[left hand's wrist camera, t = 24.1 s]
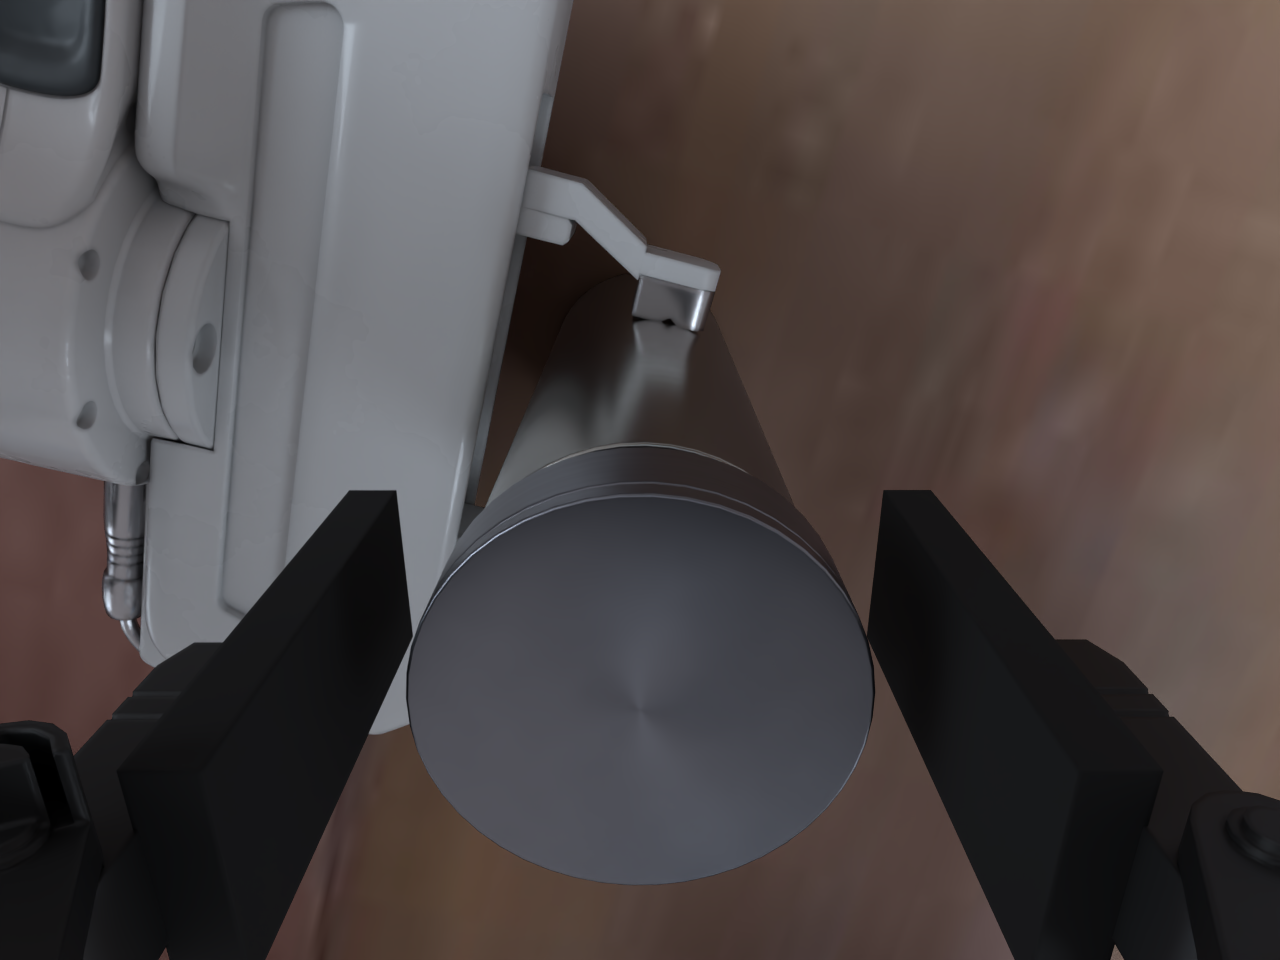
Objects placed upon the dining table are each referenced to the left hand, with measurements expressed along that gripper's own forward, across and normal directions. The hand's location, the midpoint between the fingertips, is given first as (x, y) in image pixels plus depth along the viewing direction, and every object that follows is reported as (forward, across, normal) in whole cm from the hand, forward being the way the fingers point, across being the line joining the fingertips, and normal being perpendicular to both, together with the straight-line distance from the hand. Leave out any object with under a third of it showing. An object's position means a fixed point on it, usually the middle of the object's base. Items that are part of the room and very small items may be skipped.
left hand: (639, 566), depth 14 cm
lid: (-3, 0, 0) cm, 3 cm away
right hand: (+8, -1, 0) cm, 8 cm away
